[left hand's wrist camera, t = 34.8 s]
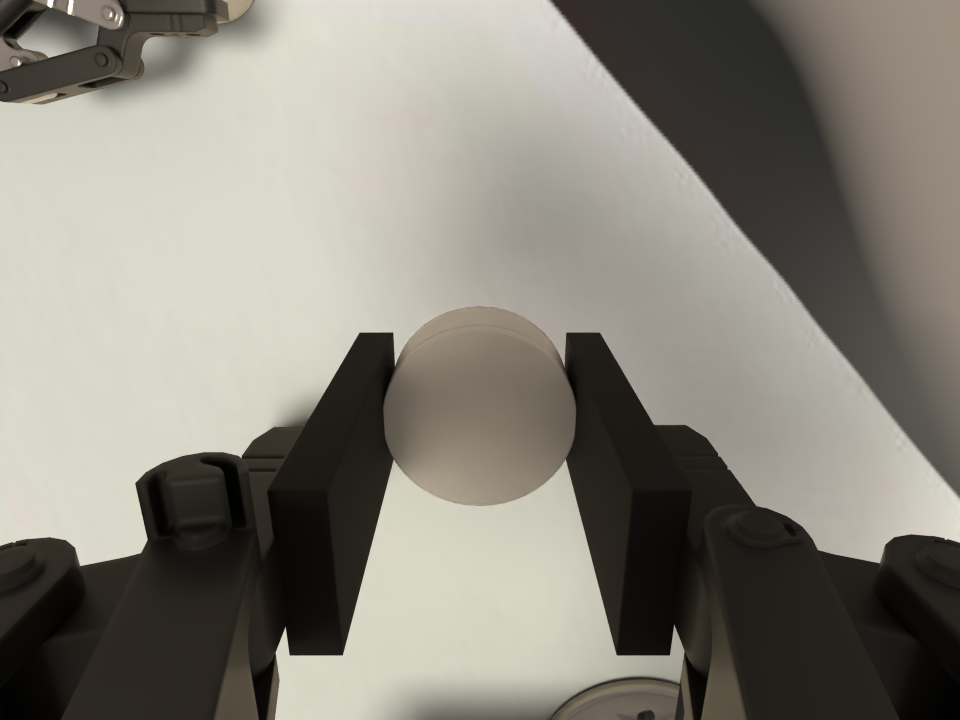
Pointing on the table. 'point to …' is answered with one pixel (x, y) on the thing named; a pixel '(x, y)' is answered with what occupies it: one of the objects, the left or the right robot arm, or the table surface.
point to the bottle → (236, 9)
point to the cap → (479, 407)
